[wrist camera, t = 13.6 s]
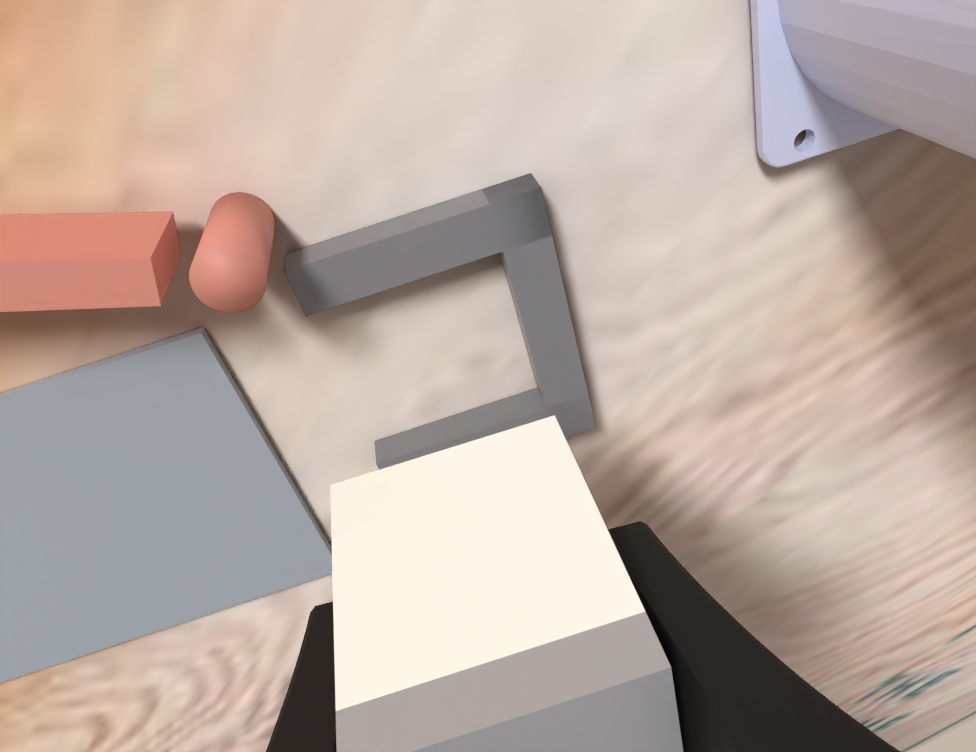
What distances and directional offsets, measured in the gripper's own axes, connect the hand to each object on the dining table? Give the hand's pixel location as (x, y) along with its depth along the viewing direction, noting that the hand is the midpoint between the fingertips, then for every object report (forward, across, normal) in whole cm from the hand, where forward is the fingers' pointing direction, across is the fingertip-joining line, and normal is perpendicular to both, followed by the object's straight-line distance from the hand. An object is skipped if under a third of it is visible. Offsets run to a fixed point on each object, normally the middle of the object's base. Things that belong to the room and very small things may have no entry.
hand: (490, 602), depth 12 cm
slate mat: (+8, +11, +3) cm, 14 cm away
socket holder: (+8, 0, 0) cm, 8 cm away
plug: (+2, 0, 0) cm, 2 cm away
